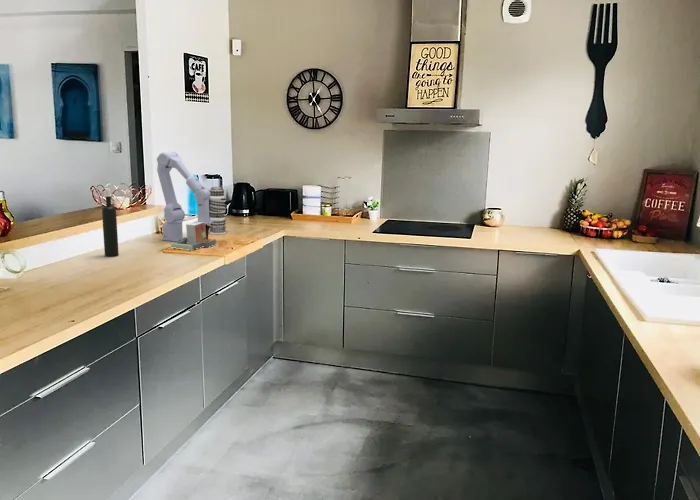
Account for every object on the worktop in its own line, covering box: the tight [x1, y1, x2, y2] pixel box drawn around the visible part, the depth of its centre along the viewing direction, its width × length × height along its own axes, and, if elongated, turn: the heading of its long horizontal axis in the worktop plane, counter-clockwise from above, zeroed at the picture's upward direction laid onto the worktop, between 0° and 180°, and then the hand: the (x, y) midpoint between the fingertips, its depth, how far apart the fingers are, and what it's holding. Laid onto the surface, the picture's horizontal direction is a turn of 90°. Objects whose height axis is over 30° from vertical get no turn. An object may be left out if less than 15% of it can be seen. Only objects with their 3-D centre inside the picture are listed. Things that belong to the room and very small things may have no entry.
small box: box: [185, 220, 208, 245], centre depth 291 cm, size 8×6×10 cm
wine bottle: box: [101, 187, 120, 258], centre depth 261 cm, size 6×6×30 cm
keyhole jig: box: [170, 236, 217, 251], centre depth 287 cm, size 16×17×2 cm
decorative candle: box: [209, 186, 227, 235], centre depth 320 cm, size 9×9×25 cm
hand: (204, 239), depth 296 cm, fingers closed, pressing on small box
